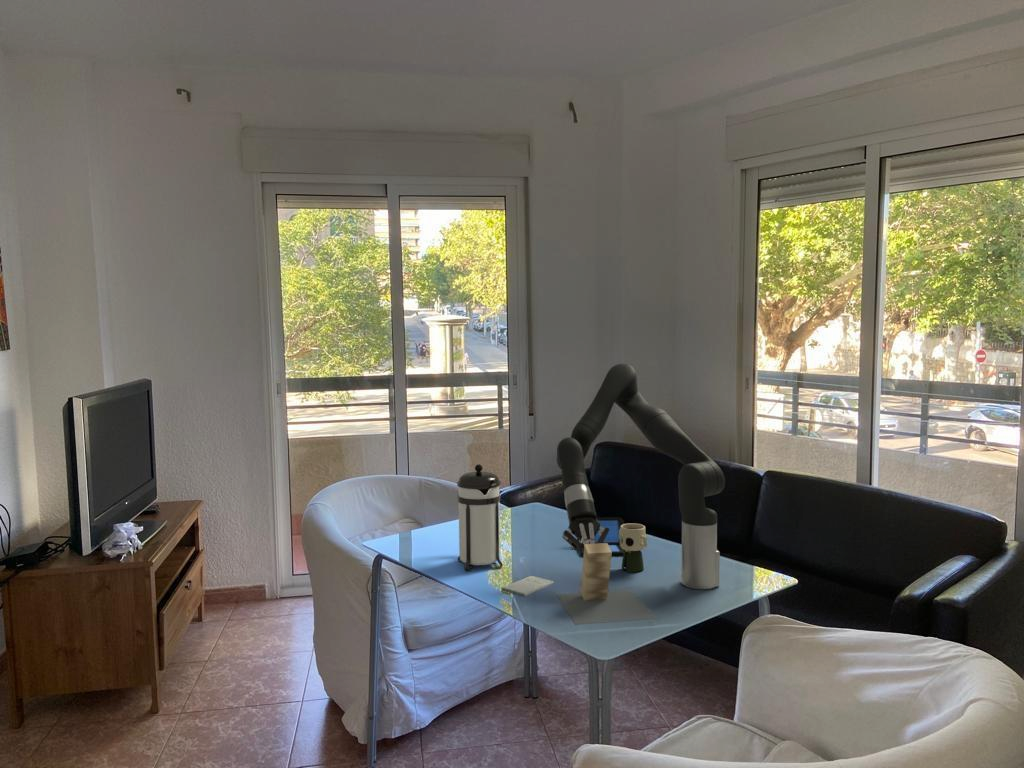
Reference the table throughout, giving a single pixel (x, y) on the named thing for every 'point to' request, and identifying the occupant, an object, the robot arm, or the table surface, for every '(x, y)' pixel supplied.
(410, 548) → the table surface
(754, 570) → the table surface
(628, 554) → the character mug
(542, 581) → the external hard drive
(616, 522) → the game console
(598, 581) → the oak block
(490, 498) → the coffee press
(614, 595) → the slate mat
